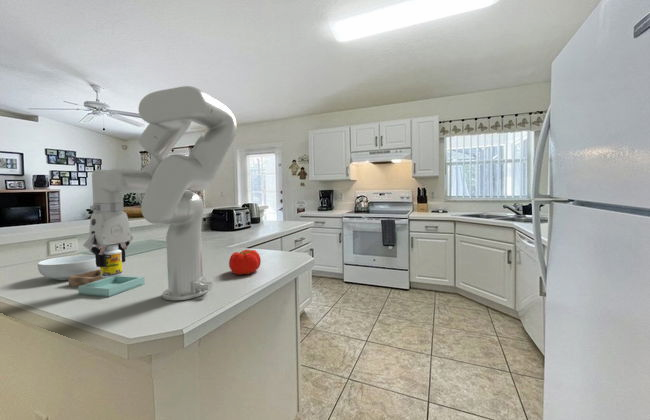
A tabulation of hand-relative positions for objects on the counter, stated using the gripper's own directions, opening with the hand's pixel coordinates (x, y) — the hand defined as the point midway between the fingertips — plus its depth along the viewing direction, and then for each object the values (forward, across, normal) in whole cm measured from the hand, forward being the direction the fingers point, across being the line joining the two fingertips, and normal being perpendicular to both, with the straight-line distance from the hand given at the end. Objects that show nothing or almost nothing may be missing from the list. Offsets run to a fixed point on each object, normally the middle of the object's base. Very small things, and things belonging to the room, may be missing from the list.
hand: (111, 263), depth 87 cm
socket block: (+9, +5, +14) cm, 17 cm away
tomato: (+8, +25, -33) cm, 42 cm away
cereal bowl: (+9, +8, +30) cm, 32 cm away
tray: (+8, 0, 0) cm, 8 cm away
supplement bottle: (+4, 0, 0) cm, 4 cm away
